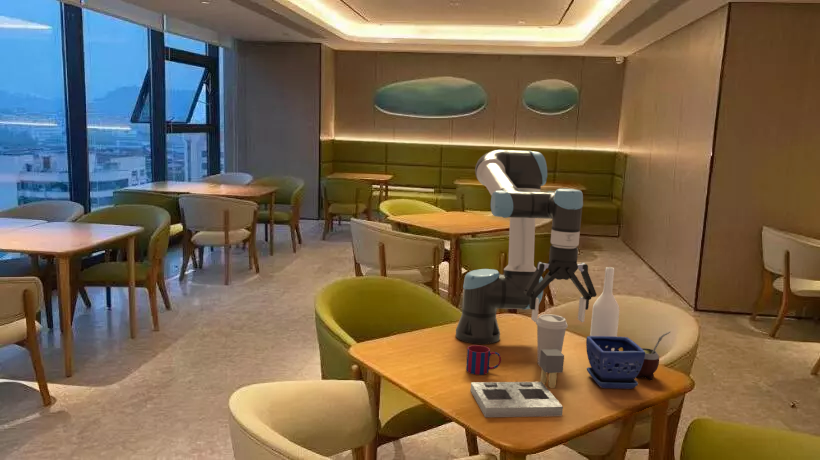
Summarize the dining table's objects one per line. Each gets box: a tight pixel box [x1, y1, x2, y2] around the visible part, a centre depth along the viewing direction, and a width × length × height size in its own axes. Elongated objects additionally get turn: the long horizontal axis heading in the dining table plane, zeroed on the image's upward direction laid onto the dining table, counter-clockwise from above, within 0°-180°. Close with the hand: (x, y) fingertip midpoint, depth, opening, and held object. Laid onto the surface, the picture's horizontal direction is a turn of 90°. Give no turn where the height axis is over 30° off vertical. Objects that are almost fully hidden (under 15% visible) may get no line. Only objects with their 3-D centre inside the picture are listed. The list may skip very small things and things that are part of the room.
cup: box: [465, 344, 502, 376], centre depth 189 cm, size 7×10×7 cm
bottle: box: [589, 266, 620, 351], centre depth 202 cm, size 8×8×30 cm
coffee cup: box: [535, 313, 569, 367], centre depth 196 cm, size 10×10×15 cm
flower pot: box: [585, 335, 645, 390], centre depth 185 cm, size 13×13×12 cm
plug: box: [539, 349, 565, 389], centre depth 181 cm, size 5×5×10 cm
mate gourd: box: [635, 331, 671, 381], centre depth 190 cm, size 8×8×15 cm
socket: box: [470, 381, 564, 418], centre depth 168 cm, size 16×20×3 cm
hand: (557, 320), depth 178 cm, fingers open, 13 cm apart
